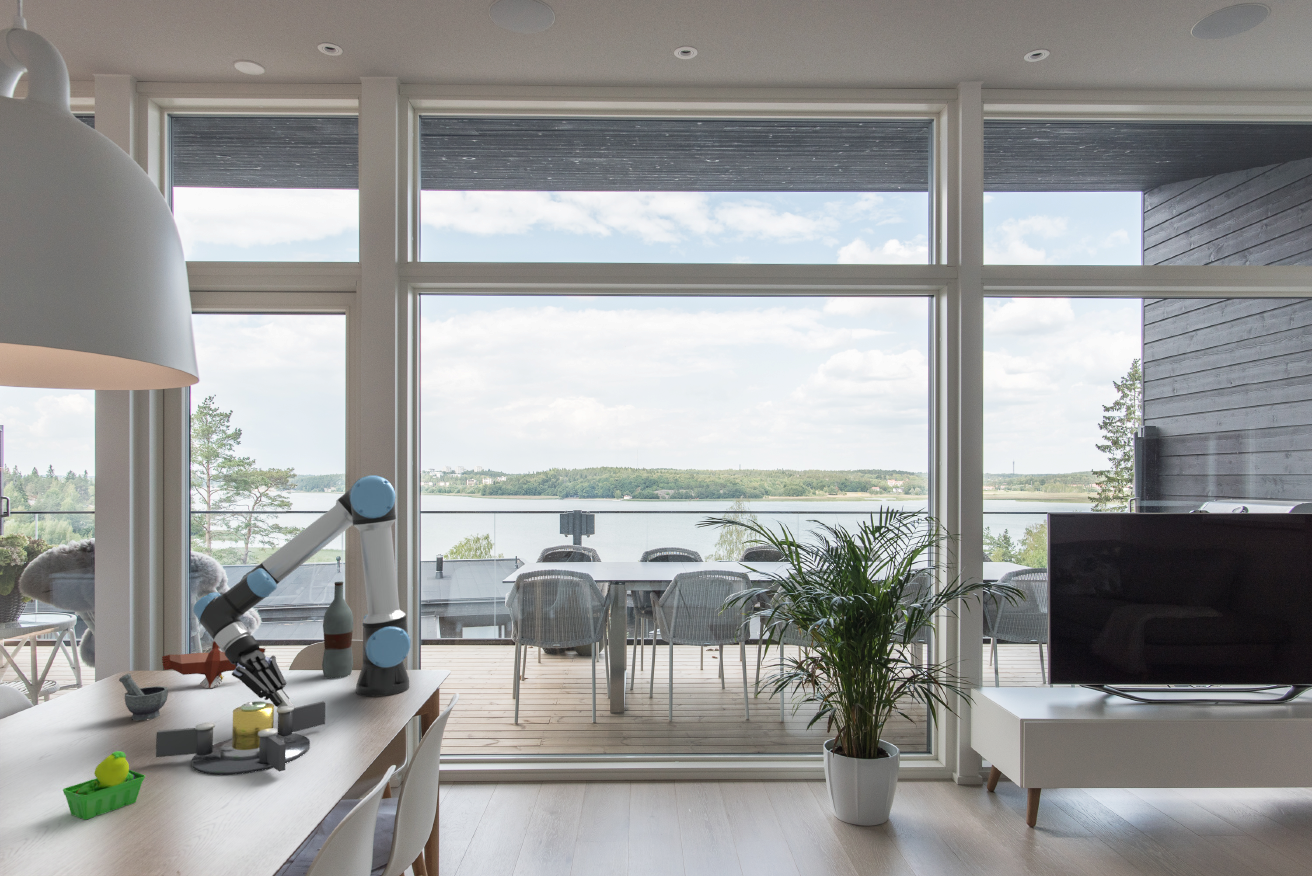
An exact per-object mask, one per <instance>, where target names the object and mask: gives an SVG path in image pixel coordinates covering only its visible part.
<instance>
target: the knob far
mask: <svg viewBox="0 0 1312 876" xmlns="http://www.w3.org/2000/svg"><path fill="white" fill-rule="evenodd" d="M215 727H216V723H215V722H212V721H209V722H202V723H198V724H196V725H195V726H194V727H187V728H175V729H163V730H162V729H161V730H158V731H156V734H155V735H156V738H155V740H156V742H155V758H162V757H163V758H165V757H174V756H176V757H177V756H185V755H186V756H187V755H188V756H189V755H198V756H202V755H208V754H211V753H212V752H213V745H214V728H215Z"/></svg>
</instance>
